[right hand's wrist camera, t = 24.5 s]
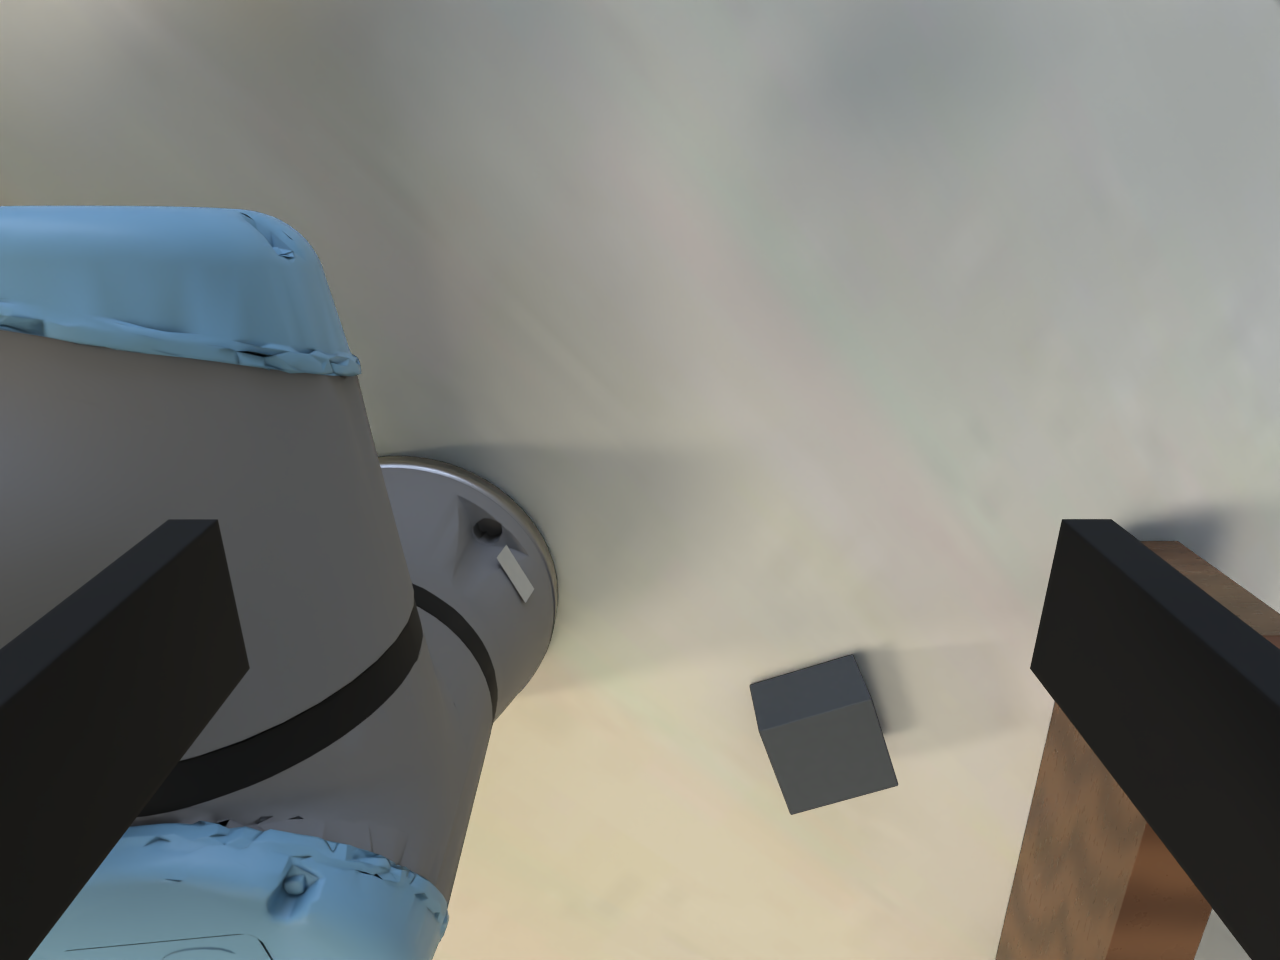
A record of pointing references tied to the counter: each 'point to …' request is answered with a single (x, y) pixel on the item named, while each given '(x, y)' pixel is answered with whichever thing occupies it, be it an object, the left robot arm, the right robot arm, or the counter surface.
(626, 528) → the counter surface
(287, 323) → the right robot arm
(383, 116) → the counter surface
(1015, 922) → the walnut bar
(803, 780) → the grey block
